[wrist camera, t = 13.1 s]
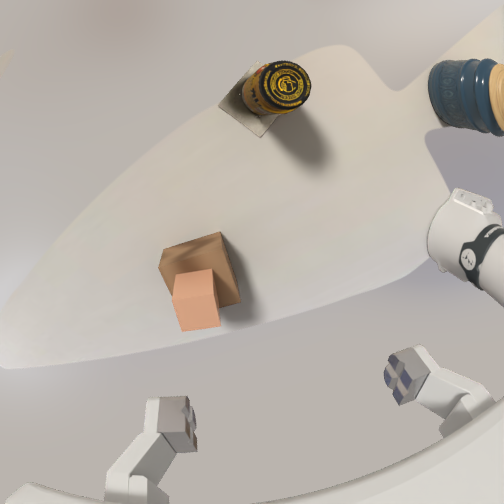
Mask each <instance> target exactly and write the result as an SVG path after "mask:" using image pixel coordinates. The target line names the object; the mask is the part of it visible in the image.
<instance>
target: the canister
mask: <svg viewBox="0 0 504 504" xmlns="http://www.w3.org/2000/svg"><path fill="white" fill-rule="evenodd" d="M428 89H429V95H430V99H431V103H432V105H433V107H434V109H435V111H436V113H437V114H438V116H439V117H440V118H441V119H442V120H443V121H444V122H445V123H447V124H449V125H451V126H453V127H458V128H468V129H472V130H477V131H479V132H482V133H489V132H491V133H492V134H493V135H495V136H498V137H500V136H504V65H503V64H498V63H497V62H495V61H494V60H492V59H483V60H482V61H480V60H477V59H469V60H458V61H454V60H445V61H442V62H440V63H437V64H436V65H435V66H434V67H433V68H432V70H431V72H430V75H429V80H428Z"/></svg>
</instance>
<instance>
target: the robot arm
mask: <svg viewBox="0 0 504 504" xmlns="http://www.w3.org/2000/svg"><path fill="white" fill-rule="evenodd" d="M493 208H494V205H492V201H491V200H490V199H488V198H486V197H483V196H480V195H477V194H475V193H472V192H469V191H466V190H463V189H460V188H455V189H454V191H453V192H452V194H451V196H450V198H449V200H448V201H447V202H446V203H445V204H444V205H443V206H442V207H441V208H440V209H439V211H438V212H437V214H436V215H435V217H434V219H433V221H432V223H431V226H430V229H429V233H428V241H427V245H428V252H429V255H430V256H431V258H432V259H433V260H434V261H435V262H436V263H437V264H438V268H439V270H440V271H442V272H443V273H444V272H447V271H448V272H450V273H451V274H453V275H455V276H456V277H457V278H459V279H460V280H462V281H464V282H466V281H470V282H471V283H472V284H473V285H474V286H475V287H477V288H479V289H480V290H484V291H486V292H487V293H488V294H489V295H490V296H491V297H493V298H494V299H495V300H496V301H497V302H498V303H499V304H500V305H501V306H503V307H504V228H503V227H502V220H501V217H500V215H498V214H497V213H495V212H493ZM388 361H389V364H388V365H387V366H386V367H385V370H384V379H385V382H386V384H387V386H388V387H389V388H391V389H393V396H394V398H395V400H396V401H397V403H398V405H399V406H400V405H402V404H405V403H407V402H409V401H412V400H415V401H417V402H418V403H420V404H421V405H423V406H425V407H426V408H428V409H429V410H431V411H432V412H434V413H436V414H437V415H439V416H440V417H442V418H444V419H445V421H444V422H443V423H442V424H441V425H440V427H439V431H440V433H441V434H442V436H443V439H441V440H440V441H438V442H436V443H434V444H433V445H431V446H429V447H427V448H425V449H423V450H422V451H420V452H418V453H416V454H414V455H412V456H410V457H408V458H405V459H403V460H401V461H399V462H397V463H395V464H392V465H390V466H388V467H385V468H383V469H381V470H378V471H376V472H373V473H371V474H368V475H365V476H363V477H360V478H357V479H354V480H351V481H348V482H345V483H343V484H339V485H336V486H333V487H329V488H326V489H322V490H319V491H315V492H311V493H307V494H303V495H298V496H294V497H289V498H284V499H279V500H274V501H268V502H261V503H254V504H504V397H503V398H502V399H500V400H499V401H497V402H495V401H494V399H493V398H492V397H491V395H490V394H489V393H488V391H487V390H486V389H485V387H484V386H483V385H482V384H481V383H478V382H476V381H474V380H471V379H469V378H467V377H464V376H462V375H460V374H457V373H455V372H453V371H450V370H448V369H446V368H444V367H443V368H440V367H439V366H438V364H437V363H436V362H435V360H434V359H433V358H432V357H431V355H430V354H429V353H428V352H427V350H426V349H425V348H424V347H423V346H422V345H421V344H419V345H416V346H413V347H411V348H407V349H405V350H402V351H399V352H396V353H393V354H392V355H390V356H389V359H388ZM195 429H196V418H195V413H194V410H193V408H192V406H190V402H189V398H188V397H187V396H176V397H149V398H148V400H147V403H146V412H145V422H144V432H143V433H140V434H139V435H138V436H137V437H136V438H135V440H134V441H133V442H132V443H131V444H130V445H129V447H128V448H127V449H126V450H125V451H124V452H123V454H122V455H121V456H120V457H119V458H118V460H117V461H116V462H115V463H114V464H113V465H112V466H111V468H110V469H109V470H108V471H107V477H106V487H105V497H104V501H102V500H97V499H92V498H87V497H83V496H78V495H74V494H70V493H66V492H62V491H59V490H56V489H52V488H49V487H46V486H43V485H40V484H37V483H33V482H28V483H26V484H24V485H22V486H21V487H20V488H19V489H17V490H16V491H15V492H14V493H13V494H11V495H10V496H9V497H8V499H7V500H6V502H5V504H169V496H168V495H167V494H166V493H165V492H163V491H162V490H161V489H160V488H158V487H157V485H158V483H159V482H160V480H161V479H162V477H163V475H164V474H165V472H166V471H167V469H168V467H169V466H170V464H171V462H172V461H173V459H174V458H175V456H176V453H187V452H197V437H196V435H195V433H194V431H195Z"/></svg>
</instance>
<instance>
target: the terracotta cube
mask: <svg viewBox="0 0 504 504" xmlns="http://www.w3.org/2000/svg"><path fill="white" fill-rule="evenodd" d="M172 302H173V305H174V309H175V312H176V315H177V318H178V321H179V324H180V327H181V330H182V332H184V331H191V330H198V329H205V328H212V327H219V326H221V323H220V312H219V301H218V295H217V290H216V285H215V280H214V276H213V271H212V269H207V270H201V271H195V272H188V273H182V274H176V277H175V283H174V289H173V296H172Z"/></svg>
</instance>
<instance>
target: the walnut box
mask: <svg viewBox="0 0 504 504" xmlns="http://www.w3.org/2000/svg"><path fill="white" fill-rule="evenodd" d="M158 268H159V270H160V272H161V275H162V277H163V279H164V281H165V283H166V285H167V287H168V289H169V291H170V293H171V295H172V296H173V289H174V283H175V277H176V274H182V273H188V272H195V271H201V270H207V269H212V271H213V276H214V280H215V285H216V290H217V295H218V301H219V308H222V307H225V306H229V305H232V304H236V303H239V302H241V300H240V295H239V289H238V284H237V280H236V277H235V274H234V271H233V268H232V265H231V262H230V259H229V256H228V254H227V251H226V248H225V245H224V242H223V239H222V236H221V233H220V232H217V233H214V234H211V235H207V236H204V237H201V238H198V239H194V240H191V241H188V242H185V243H182V244H179V245H175V246H172V247H169V248H166V249H164V250H163V253H162V257H161V260H160V264H159V267H158Z"/></svg>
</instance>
